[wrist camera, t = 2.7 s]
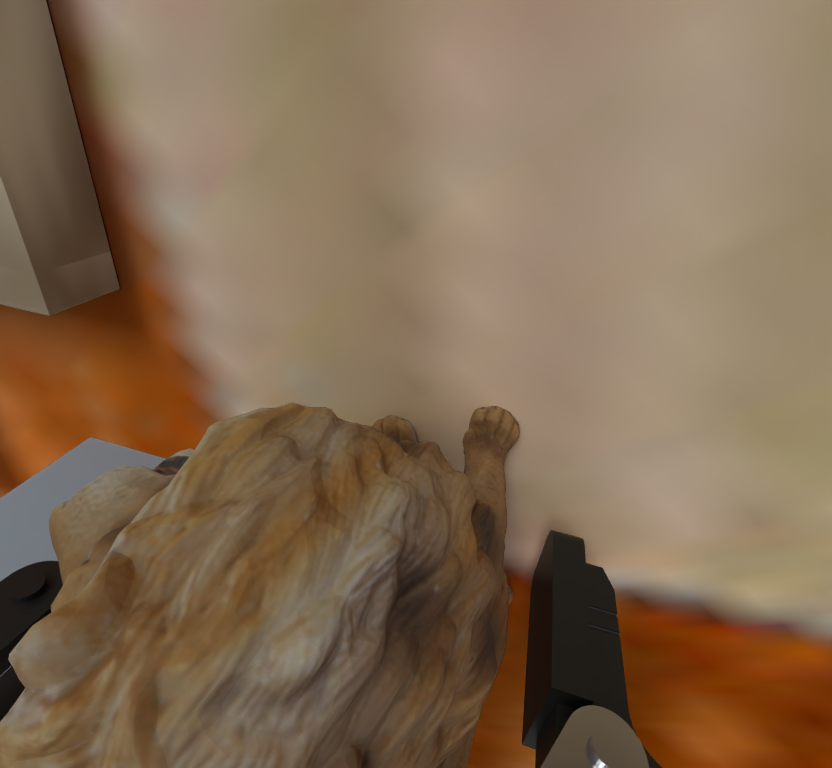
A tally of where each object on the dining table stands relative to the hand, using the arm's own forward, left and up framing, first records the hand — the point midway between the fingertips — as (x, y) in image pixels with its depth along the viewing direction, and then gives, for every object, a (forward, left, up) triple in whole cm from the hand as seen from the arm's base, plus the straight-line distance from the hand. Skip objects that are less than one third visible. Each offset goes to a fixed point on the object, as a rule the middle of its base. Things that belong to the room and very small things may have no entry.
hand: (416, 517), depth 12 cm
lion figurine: (+1, 0, -1) cm, 2 cm away
